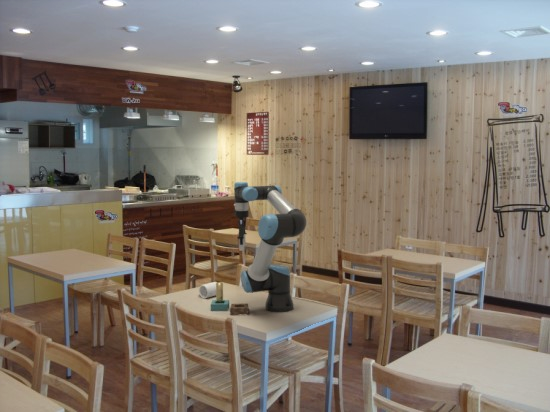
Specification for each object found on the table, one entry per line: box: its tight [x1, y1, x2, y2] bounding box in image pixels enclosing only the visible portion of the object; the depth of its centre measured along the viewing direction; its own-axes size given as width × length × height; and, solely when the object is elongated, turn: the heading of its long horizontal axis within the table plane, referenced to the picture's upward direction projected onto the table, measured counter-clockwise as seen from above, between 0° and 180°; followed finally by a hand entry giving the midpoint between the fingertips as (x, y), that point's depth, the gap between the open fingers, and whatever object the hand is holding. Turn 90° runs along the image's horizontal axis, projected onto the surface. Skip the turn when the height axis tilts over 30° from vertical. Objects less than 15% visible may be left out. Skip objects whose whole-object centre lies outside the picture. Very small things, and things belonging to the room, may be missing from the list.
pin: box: [215, 281, 224, 303], centre depth 310 cm, size 4×4×14 cm
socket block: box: [210, 299, 230, 312], centre depth 310 cm, size 9×9×4 cm
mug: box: [198, 281, 217, 299], centre depth 337 cm, size 12×10×8 cm
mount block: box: [229, 302, 249, 316], centre depth 302 cm, size 9×9×4 cm
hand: (242, 248), depth 318 cm, fingers open, 13 cm apart
